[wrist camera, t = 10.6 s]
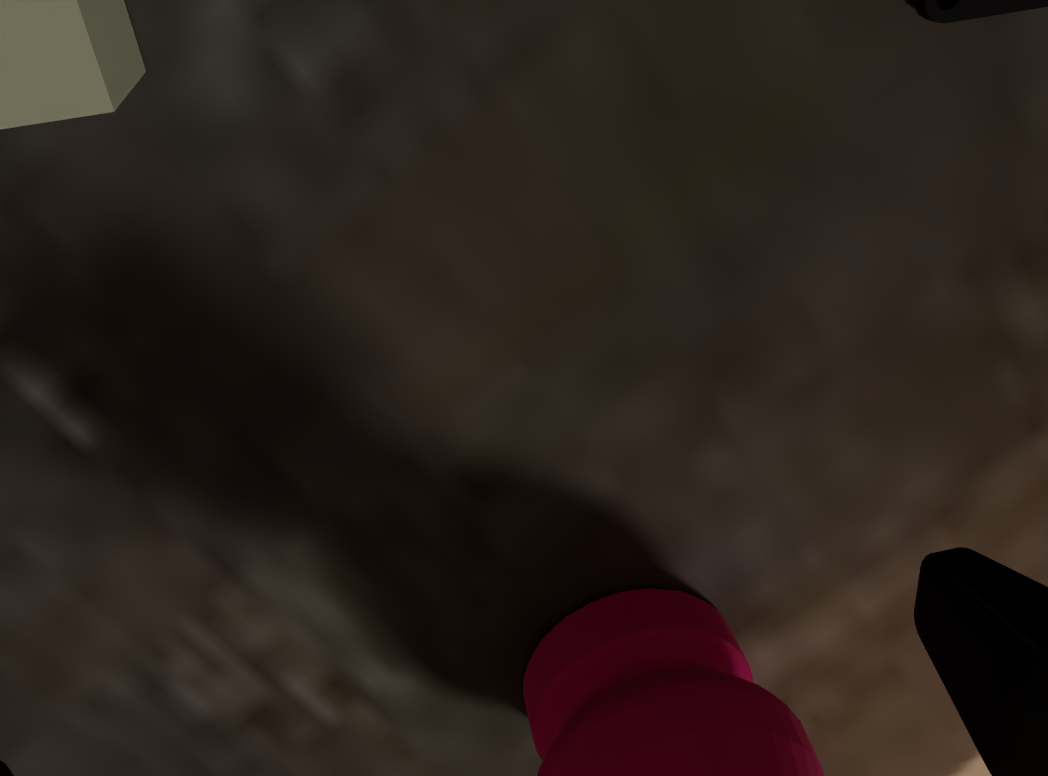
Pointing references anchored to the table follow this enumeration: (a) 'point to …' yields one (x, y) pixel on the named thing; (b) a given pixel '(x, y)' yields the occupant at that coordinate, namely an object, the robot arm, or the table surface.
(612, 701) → the pepper mill
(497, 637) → the table surface
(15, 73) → the sage base
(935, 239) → the table surface
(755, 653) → the table surface
